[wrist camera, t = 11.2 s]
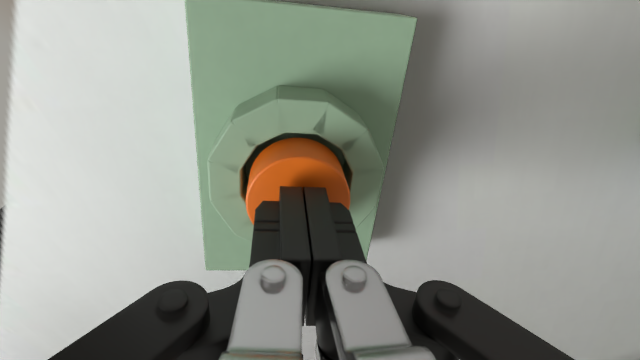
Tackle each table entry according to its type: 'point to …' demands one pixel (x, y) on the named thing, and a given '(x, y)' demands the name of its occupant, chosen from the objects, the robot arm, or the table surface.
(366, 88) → the switch base
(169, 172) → the table surface
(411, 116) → the table surface
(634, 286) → the table surface
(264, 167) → the switch
